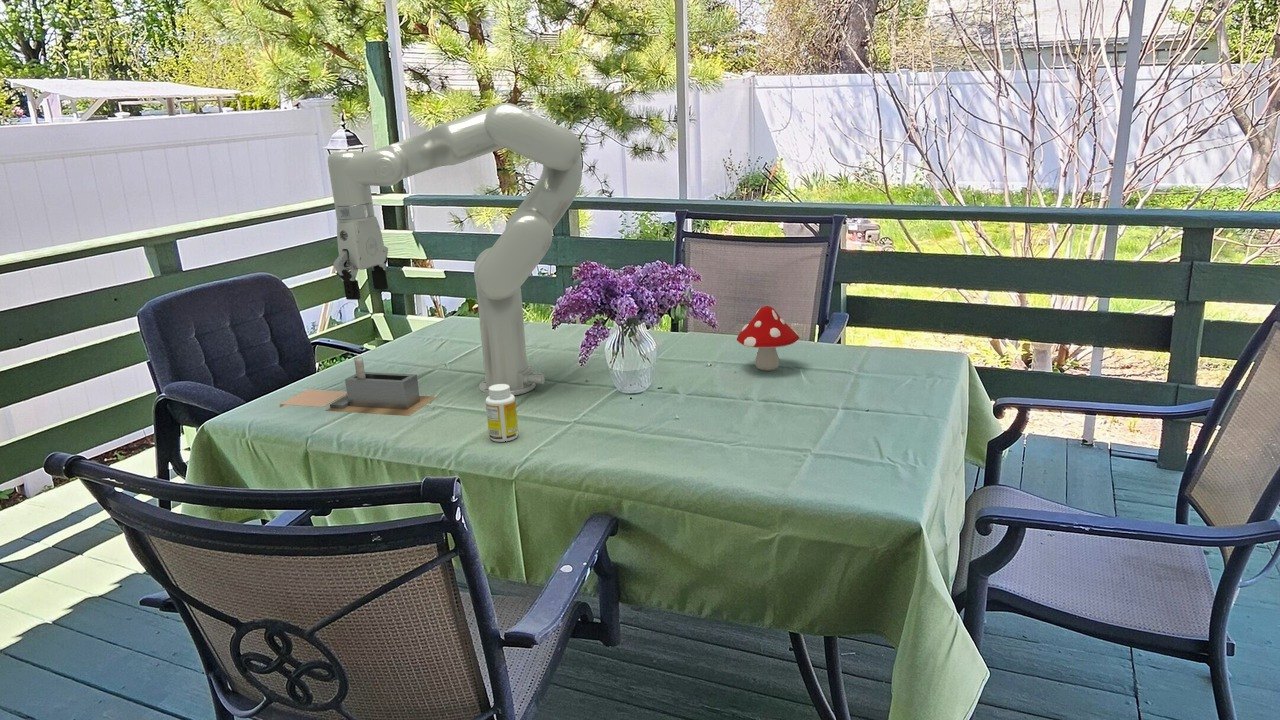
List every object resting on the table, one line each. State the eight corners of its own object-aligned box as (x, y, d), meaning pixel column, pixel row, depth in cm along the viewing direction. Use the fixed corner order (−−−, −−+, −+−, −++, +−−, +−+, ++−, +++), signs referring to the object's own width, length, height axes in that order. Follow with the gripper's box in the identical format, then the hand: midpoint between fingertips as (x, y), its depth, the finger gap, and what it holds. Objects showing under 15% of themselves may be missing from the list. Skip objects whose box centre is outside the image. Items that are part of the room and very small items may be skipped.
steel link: (420, 401, 192) (416, 374, 190) (406, 409, 187) (403, 382, 186) (363, 397, 196) (359, 371, 194) (349, 406, 191) (345, 379, 190)
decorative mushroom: (794, 359, 211) (795, 297, 207) (803, 377, 198) (804, 311, 194) (734, 362, 212) (733, 300, 207) (740, 379, 199) (739, 314, 194)
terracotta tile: (350, 395, 201) (349, 391, 201) (323, 410, 192) (322, 406, 192) (308, 392, 204) (308, 389, 204) (280, 407, 195) (279, 404, 195)
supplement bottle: (519, 431, 174) (514, 381, 171) (518, 441, 169) (513, 390, 166) (490, 433, 174) (485, 383, 171) (488, 444, 169) (483, 392, 166)
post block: (438, 400, 195) (432, 352, 192) (409, 419, 184) (402, 369, 181) (358, 395, 200) (351, 349, 197) (325, 414, 189) (318, 365, 186)
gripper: (344, 218, 176) (357, 304, 180) (394, 206, 191) (405, 285, 196) (312, 219, 178) (326, 303, 183) (364, 207, 194) (376, 285, 198)
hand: (367, 294), depth 189 cm, fingers open, 9 cm apart
